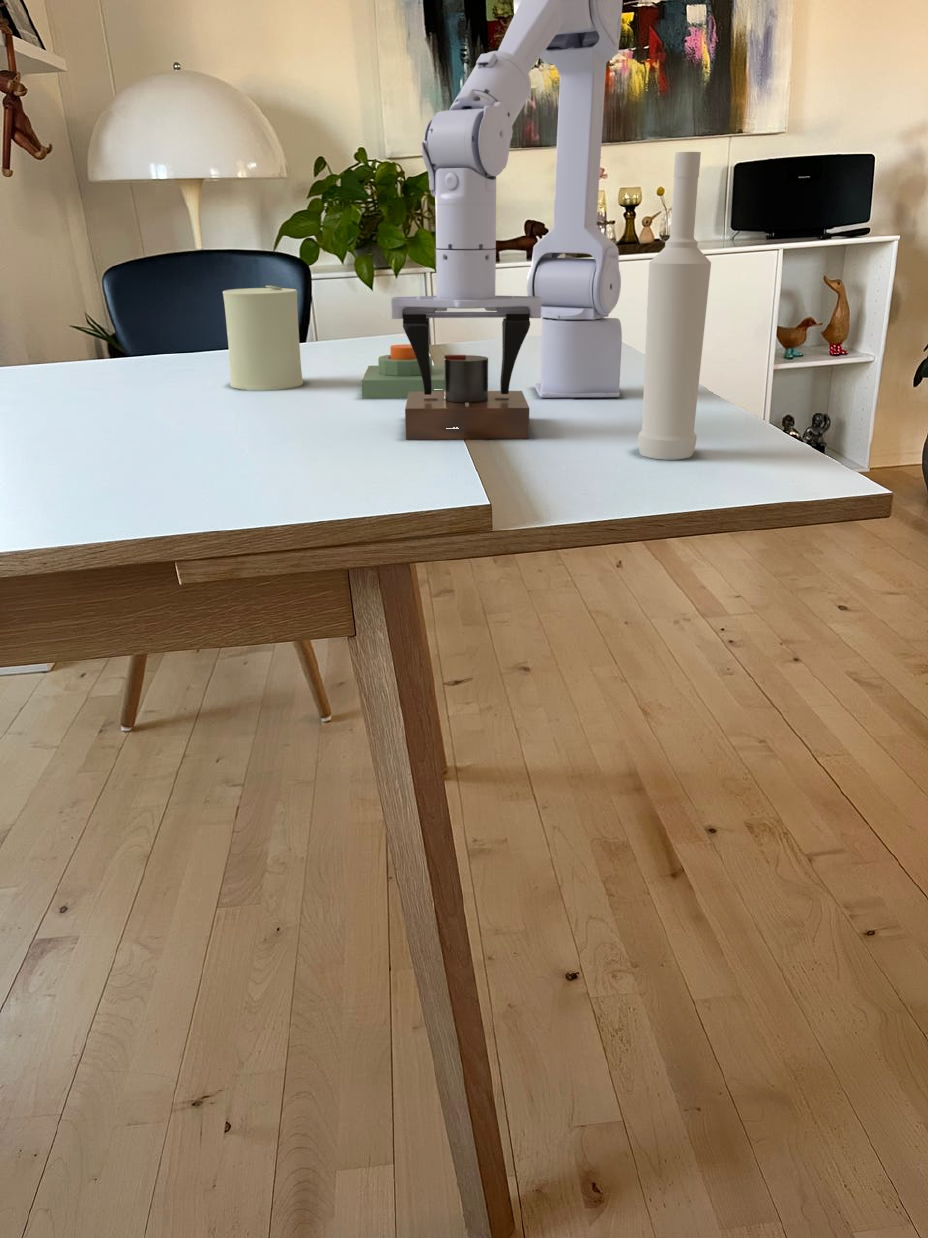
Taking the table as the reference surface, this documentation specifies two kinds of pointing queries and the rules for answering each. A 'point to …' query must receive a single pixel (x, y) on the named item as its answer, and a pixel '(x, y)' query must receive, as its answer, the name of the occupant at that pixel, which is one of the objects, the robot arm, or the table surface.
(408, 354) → the button
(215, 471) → the table surface
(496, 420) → the dial panel
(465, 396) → the dial
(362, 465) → the table surface
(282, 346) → the can
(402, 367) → the green button base
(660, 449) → the bottle
